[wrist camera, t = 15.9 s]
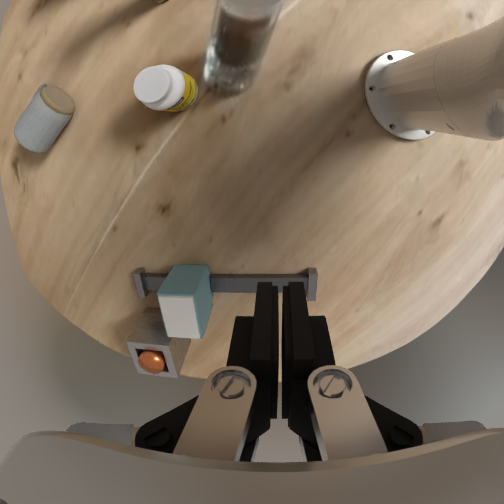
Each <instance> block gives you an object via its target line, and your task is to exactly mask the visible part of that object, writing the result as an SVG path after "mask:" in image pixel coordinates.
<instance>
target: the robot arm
mask: <svg viewBox="0 0 504 504" xmlns="http://www.w3.org/2000/svg"><path fill="white" fill-rule="evenodd" d="M387 57H388V58H389V60H388V59H387ZM369 87H371V88H372V91H370V90H369ZM364 91H365V96H366V101H367V104H368V107H369V109H370V111H371V113H372V114H373V116H374V118H375V119H376V120H377V122H378V123H379V124H380V125H381V126H382V127H383V128H384V129H385V130H387V131H388V132H390V133H391V134H393V135H395V136H397V137H400V138H403V139H408V140H422V139H425V138H428V137H430V136H431V135H433V134H434V133H436V132H441V133H448V134H454V135H460V136H465V137H471V138H477V139H482V140H489V141H495V140H501V139H504V17H502V18H500V19H499V20H497V21H495V22H493V23H491V24H489V25H487V26H485V27H483V28H481V29H479V30H476V31H473V32H471V33H468V34H466V35H463V36H460V37H457V38H454V39H452V40H449V41H446V42H443V43H440V44H438V45H435V46H432V47H430V48H427V49H424V50H422V51H419V52H417V53H412V52H409V51H404V50H394V51H390V52H387V53H384V54H382V55H381V56H379V57H378V58H377V59H375V60H374V61H373V63H372V64H371V65H370V67H369V69H368V71H367V73H366V77H365V90H364ZM390 124H391V128H390V127H389V125H390ZM425 130H426V132H425ZM278 367H279V315H278V286H272V282H258V283H257V292H256V302H255V312H254V316H236V318H235V323H234V328H233V333H232V339H231V344H230V349H229V355H228V360H227V365H226V367H222V368H219V369H217V370H215V371H214V372H212V373H211V374H210V375H209V376H208V378H207V380H206V382H205V384H204V386H203V388H202V390H201V392H200V395H198V396H197V397H195V398H193V399H191V400H189V401H188V402H186V403H184V404H182V405H180V406H178V407H177V408H175V409H173V410H171V411H169V412H167V413H165V414H163V415H161V416H159V417H157V418H155V419H153V420H151V421H149V422H147V423H146V424H144V425H143V426H142V427H134V425H132V424H129V425H128V424H100V423H85V422H82V423H76V424H74V425H71V426H70V427H69V428H68V429H67V430H66V431H39V432H33V433H29V434H27V435H25V436H23V437H22V438H20V439H19V440H18V441H17V442H16V443H15V444H14V445H13V447H12V448H11V449H10V451H9V452H8V454H7V455H6V457H5V458H4V460H3V461H2V463H1V465H0V504H504V428H490V429H486V428H485V427H484V426H483V424H481V423H479V422H477V421H464V422H463V421H462V422H445V423H424V424H423V426H417V425H416V424H415V423H413V422H412V421H410V420H408V419H407V418H405V417H403V416H401V415H399V414H397V413H395V412H393V411H392V410H390V409H388V408H386V407H384V406H382V405H380V404H379V403H377V402H375V401H374V400H372V399H370V398H368V397H366V396H365V395H364V394H363V392H362V390H361V387H360V385H359V383H358V381H357V378H356V377H355V376H354V374H353V373H352V372H351V371H349V370H348V369H346V368H343V367H341V366H336V365H335V360H334V355H333V350H332V345H331V340H330V335H329V331H328V326H327V322H326V318H325V316H309V314H308V307H307V301H306V295H305V288H304V282H288V286H283V303H282V419H288V427H290V429H291V430H292V431H293V432H295V433H296V434H297V435H299V443H300V447H301V452H302V456H303V461H304V462H289V463H288V462H287V463H267V462H266V463H263V462H253V461H254V458H255V454H256V450H257V446H258V442H259V436H260V435H262V434H263V433H265V432H266V431H267V430H269V428H270V419H274V418H275V419H276V418H277V399H278Z"/></svg>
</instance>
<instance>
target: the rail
mask: <svg viewBox="0 0 504 504" xmlns="http://www.w3.org/2000/svg"><path fill="white" fill-rule="evenodd" d="M167 276H168V274H152V273H145V269H144V268H137V269H136V270H135V272H134V273H133V277H134V281H135V285H136V289H137V293H138V297H139V298H146V297H147V295H148V293H149V292H150V291H149V290H152V291H158V290H159V288H160V287H161V285H162V284H163V282H164V280H165V279H166V277H167ZM317 276H318V274H317V270H316V268H308V272H307V274H210V275H209V281H210V289H211V292H257V283H258V282H272V286H278V292H283V286H288V282H304V288H305V292H306V295H307V301H316V289H317Z"/></svg>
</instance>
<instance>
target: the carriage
mask: <svg viewBox="0 0 504 504" xmlns="http://www.w3.org/2000/svg"><path fill="white" fill-rule="evenodd" d="M209 275H210V269H208V265H174V266H173V268H172V269H171V271H170V272H169V274H168V276H167V277H166V279H165V280H164V282H163V284H162V285H161V287H160V288H159V290H158V292H157V297H158V302H159V306H160V310H161V314H162V318H163V322H164V326H165V330H166V334H167V336H168V337H178V338H194V339H203V336H204V332H205V329H206V326H207V323H208V319H209V316H210V313H211V310H212V306H213V304H212V297H213V292H211V289H210V281H209Z"/></svg>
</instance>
